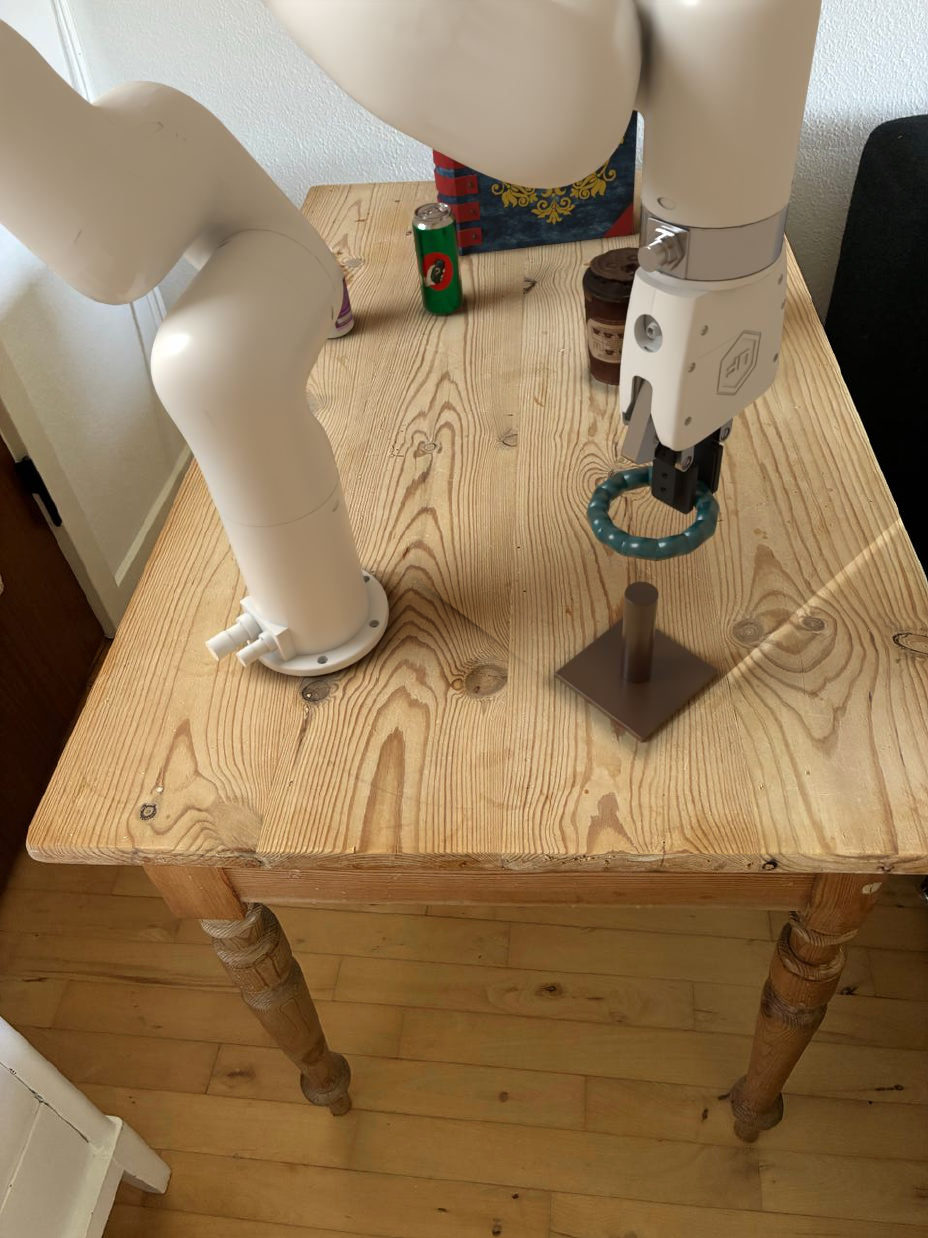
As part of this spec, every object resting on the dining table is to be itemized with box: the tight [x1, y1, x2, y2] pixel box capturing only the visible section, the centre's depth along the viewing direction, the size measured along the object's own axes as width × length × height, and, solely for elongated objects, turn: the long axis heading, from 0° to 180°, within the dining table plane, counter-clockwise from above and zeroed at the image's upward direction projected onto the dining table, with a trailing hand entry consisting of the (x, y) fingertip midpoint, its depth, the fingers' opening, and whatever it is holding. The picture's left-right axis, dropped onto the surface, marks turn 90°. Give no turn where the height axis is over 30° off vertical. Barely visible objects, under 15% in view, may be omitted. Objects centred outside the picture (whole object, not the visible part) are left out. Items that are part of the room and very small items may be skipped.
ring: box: [585, 465, 721, 562], centre depth 62 cm, size 8×8×1 cm
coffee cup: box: [581, 246, 640, 387], centre depth 98 cm, size 9×8×13 cm
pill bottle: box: [327, 245, 355, 339], centre depth 111 cm, size 5×5×10 cm
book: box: [431, 110, 639, 257], centre depth 116 cm, size 25×7×25 cm, turn 94°
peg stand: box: [554, 581, 719, 743], centre depth 71 cm, size 9×9×10 cm
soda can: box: [411, 201, 465, 317], centre depth 111 cm, size 5×5×12 cm
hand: (683, 492), depth 63 cm, fingers closed on ring, 1 cm apart
